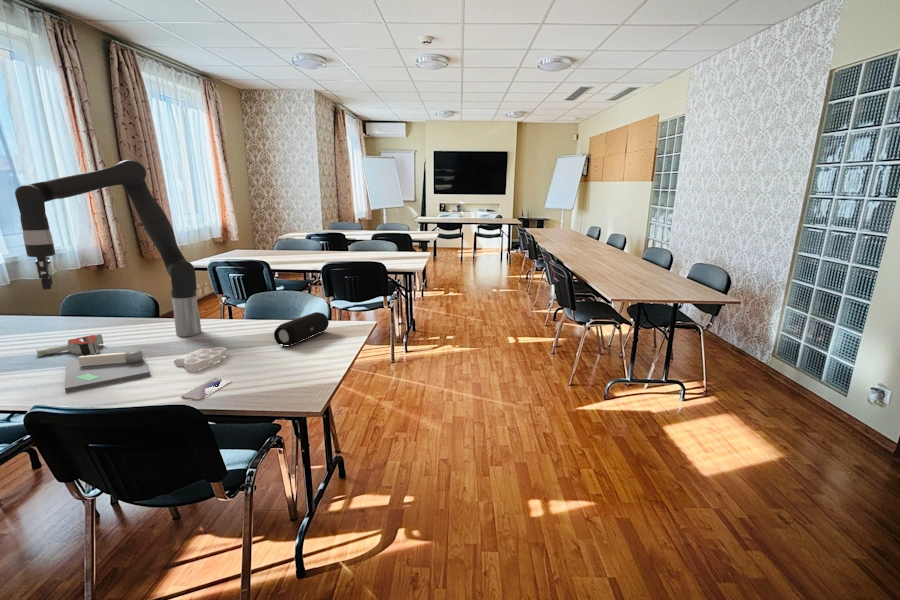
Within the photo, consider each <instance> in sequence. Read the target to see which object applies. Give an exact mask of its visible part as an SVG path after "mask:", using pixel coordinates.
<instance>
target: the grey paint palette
mask: <svg viewBox="0 0 900 600" xmlns="http://www.w3.org/2000/svg"><path fill="white" fill-rule="evenodd" d="M226 355H227V356H228V353H227V347H224V346H216V347H212V348H199V349H197V350H195V351H192V352H189V353H187V354H186V355H183V356H180V357H178V358H176V359H174V360H173V364H174V365H175V366H176V367H184V371H185V370H186V371H185V372H190V371H191V372H195V371H194V370H198V371H200V370H202V369H204V368H203V367H206V366H210V365H213V364H214V363H215V362H217V361H220V360H222V359H223V360H224V359H226V357H223V356H226ZM223 360H222V361H223ZM214 365H215V364H214ZM214 365H213V366H214ZM210 367H211V366H210ZM201 368H202V369H201ZM206 368H207V367H206ZM199 369H200V370H199Z"/></svg>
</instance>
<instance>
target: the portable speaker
mask: <svg viewBox="0 0 900 600" xmlns="http://www.w3.org/2000/svg"><path fill="white" fill-rule="evenodd" d="M329 323H330V322H329V319H328V316H327V314H324V313H323V312H316V311H315V312H312V313H310V314H305V315H303V316H300V317H298V318H295V319H292V320H290V321H286V322H284V323H281V324H280V325H278V326H277V327H276V328H275V330H274V332H273V336H274V337H273V338H274V340H275V342H276V343H277V344H278V345H279V344H283V345H291V344H294V343H297V342H299V341H301V340H303V339H306V338H308V337H310V336H312V335H315V334H317V333H319V332H322V331H324V330H325V331H326V330H327V328H328V327H329ZM325 331H324V332H325ZM322 333H323V332H322ZM308 339H309V338H308ZM306 340H307V339H306ZM301 342H302V341H301ZM299 343H300V342H299ZM297 344H298V343H297ZM294 345H295V344H294Z"/></svg>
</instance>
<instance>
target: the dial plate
mask: <svg viewBox="0 0 900 600" xmlns="http://www.w3.org/2000/svg"><path fill="white" fill-rule="evenodd" d="M137 350H141V351H142V349H137ZM129 351H130V350H128V351H121V352H119V353H125V352H129ZM131 351H133V350H131ZM142 356H143V360H142V361H140V362H137V363H126V362H117V363H105V364H93V365H82V366H80V365H79V360H78V359H74V360H73V359H72V360H68V361H67V360H66V361H65V379H64V390H65V391H64V392H65V394H66V393H71V392H72V393H73V392H77V391H82V390H86V389H90V388H91V389H92V388H96V387H101V386H107V385H112V384H116V383H122V382H127V381H133V380H139V379H141V378H142V379H143V378H147V377H151V373H150V369H149V367H148V363H146V360H145V357H144V354H143V353H142Z"/></svg>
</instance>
